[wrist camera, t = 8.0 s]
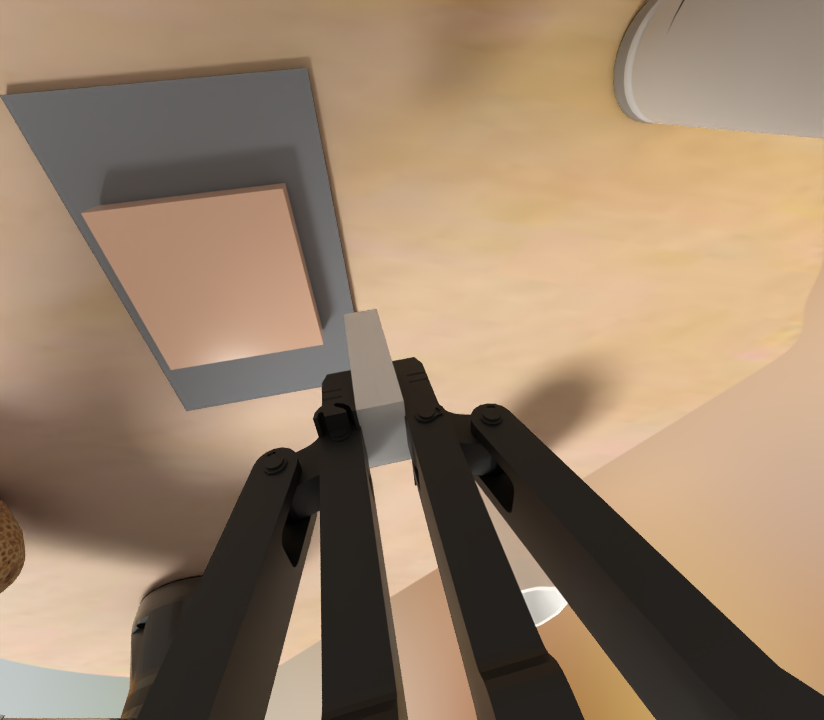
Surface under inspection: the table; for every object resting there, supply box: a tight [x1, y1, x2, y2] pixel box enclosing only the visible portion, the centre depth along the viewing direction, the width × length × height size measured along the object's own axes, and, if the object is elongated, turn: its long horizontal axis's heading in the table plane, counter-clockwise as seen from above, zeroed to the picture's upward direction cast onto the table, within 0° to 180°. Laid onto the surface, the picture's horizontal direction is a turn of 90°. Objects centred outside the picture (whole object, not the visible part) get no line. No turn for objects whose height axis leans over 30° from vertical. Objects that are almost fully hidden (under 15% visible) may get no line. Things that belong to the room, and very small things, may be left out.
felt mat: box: [0, 68, 354, 411], centre depth 24 cm, size 14×20×1 cm
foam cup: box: [475, 481, 568, 627], centre depth 37 cm, size 10×9×13 cm
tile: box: [81, 183, 323, 370], centre depth 23 cm, size 2×10×10 cm
